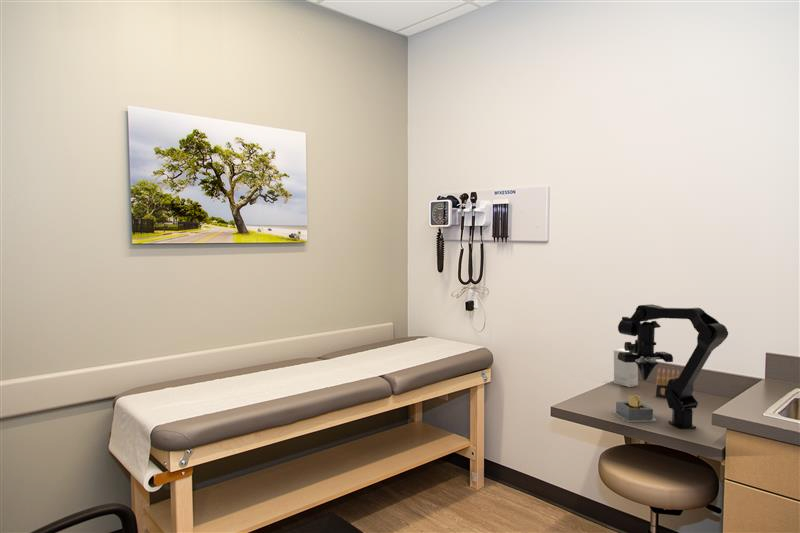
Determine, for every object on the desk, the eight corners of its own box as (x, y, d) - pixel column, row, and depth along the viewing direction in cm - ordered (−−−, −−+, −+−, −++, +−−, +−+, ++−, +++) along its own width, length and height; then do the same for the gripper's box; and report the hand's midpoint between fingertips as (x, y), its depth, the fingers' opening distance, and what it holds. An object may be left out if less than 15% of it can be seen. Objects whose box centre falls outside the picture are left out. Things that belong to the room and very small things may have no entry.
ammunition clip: (655, 396, 219) (656, 368, 218) (655, 395, 220) (656, 367, 220) (684, 400, 214) (686, 371, 213) (684, 399, 216) (685, 370, 215)
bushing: (642, 416, 191) (643, 397, 191) (632, 417, 190) (632, 398, 190) (636, 413, 195) (636, 394, 194) (626, 413, 194) (626, 394, 194)
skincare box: (638, 385, 235) (639, 351, 235) (628, 387, 232) (629, 352, 231) (621, 381, 243) (622, 347, 242) (612, 383, 239) (613, 349, 239)
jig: (656, 421, 188) (657, 409, 188) (627, 422, 187) (627, 410, 186) (639, 411, 199) (640, 400, 198) (611, 412, 198) (612, 401, 197)
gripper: (657, 334, 205) (655, 374, 206) (611, 334, 203) (609, 374, 204) (674, 339, 194) (673, 381, 194) (626, 340, 192) (624, 382, 193)
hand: (644, 379), depth 197 cm, fingers closed
